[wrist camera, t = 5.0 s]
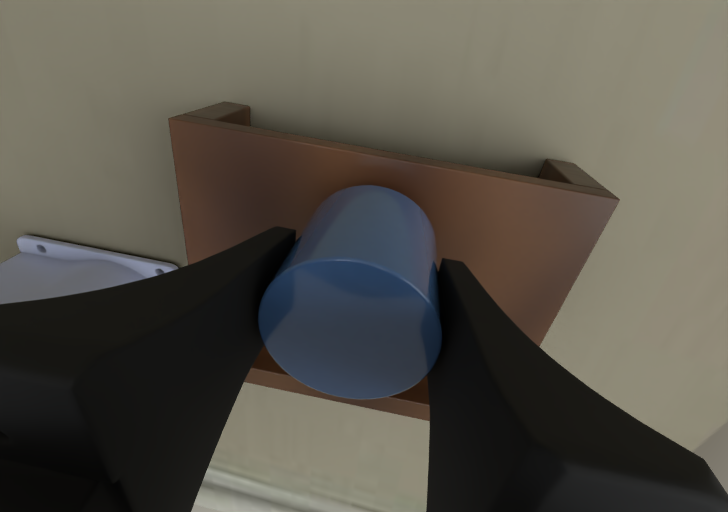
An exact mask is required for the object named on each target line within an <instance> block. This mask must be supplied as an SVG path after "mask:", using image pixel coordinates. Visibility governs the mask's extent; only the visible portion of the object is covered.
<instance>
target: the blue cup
mask: <svg viewBox="0 0 728 512" xmlns="http://www.w3.org/2000/svg"><path fill="white" fill-rule="evenodd" d="M258 325H259V331H260V335H261V338H262V340H263V343H264V345H265V347H266V349H267V350H268V352H269V354H270V355H271V356H272V358H273V359H274V360H275V362H276V363H277V364H278V365H279V366H280V367H281V368H282V369H283V370H284V371H286V372H287V373H288V374H289V375H290V376H292V377H293V378H295V379H296V380H298V381H299V382H301V383H303V384H305V385H306V386H308V387H310V388H313V389H315V390H317V391H320V392H323V393H326V394H329V395H333V396H337V397H342V398H348V399H377V398H383V397H388V396H392V395H395V394H398V393H401V392H403V391H405V390H408V389H410V388H411V387H413V386H415V385H416V384H418V383H419V382H420V381H421V380H423V379H424V378H425V377H426V376H427V375H428V373H429V372H430V371H431V370H432V368H433V367H434V365H435V364H436V362H437V359H438V357H439V355H440V351H441V347H442V338H443V335H442V321H441V307H440V293H439V279H438V266H437V252H436V240H435V234H434V230H433V228H432V225H431V223H430V221H429V219H428V218H427V216H426V214H425V213H424V212H423V211H422V209H421V208H420V207H419V206H418V205H417V204H416V203H415V202H413V201H412V200H411V199H409V198H408V197H407V196H405V195H403V194H401V193H399V192H397V191H394V190H392V189H389V188H385V187H381V186H373V185H361V186H353V187H350V188H346V189H343V190H341V191H338V192H336V193H334V194H333V195H331V196H329V197H328V198H327V199H326V200H324V201H323V202H322V203H321V204H320V205H319V206H318V208H317V209H316V211H315V212H314V214H313V215H312V217H311V218H310V220H309V221H308V223H307V225H306V226H305V228H304V229H303V231H302V233H301V234H300V236H299V237H298V239H297V240H296V242H295V244H294V245H293V247H292V248H291V250H290V252H289V253H288V255H287V256H286V258H285V259H284V261H283V263H282V264H281V266H280V267H279V269H278V271H277V272H276V274H275V275H274V277H273V279H272V280H271V282H270V283H269V285H268V286H267V288H266V290H265V291H264V293H263V296H262V298H261V301H260V305H259V309H258Z"/></svg>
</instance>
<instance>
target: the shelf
mask: <svg viewBox="0 0 728 512" xmlns="http://www.w3.org/2000/svg"><path fill="white" fill-rule="evenodd" d="M168 120H169V127H170V135H171V142H172V149H173V157H174V164H175V171H176V178H177V186H178V193H179V200H180V207H181V215H182V222H183V229H184V237H185V244H186V251H187V258H188V265H190V264H193V263H196V262H198V261H201V260H203V259H205V258H208V257H210V256H212V255H215V254H217V253H219V252H222V251H224V250H227V249H229V248H231V247H233V246H235V245H237V244H239V243H241V242H243V241H245V240H248V239H250V238H252V237H254V236H256V235H258V234H260V233H262V232H264V231H266V230H268V229H270V228H273V227H276V226H279V227H284V228H289V229H294V230H296V240H297V239H298V237H299V236H300V234H301V233H302V231H303V229H304V228H305V226H306V225H307V223H308V221H309V220H310V218H311V217H312V215H313V214H314V212H315V211H316V209H317V208H318V206H319V205H320V204H321V203H322V202H323V201H324V200H326V199H327V198H328V197H329V196H331V195H333V194H334V193H336V192H338V191H341V190H343V189H346V188H350V187H353V186H361V185H373V186H381V187H385V188H389V189H392V190H394V191H397V192H399V193H401V194H403V195H405V196H407V197H408V198H409V199H411V200H412V201H413V202H415V203H416V204H417V205H418V206H419V207H420V208H421V209H422V211H423V212H424V213H425V214H426V216H427V218H428V219H429V221H430V223H431V225H432V228H433V230H434V234H435V240H436V252H437V266H438V271H439V267H440V264H441V261H442V258H446V259H451V260H457V261H462V262H464V263H465V265H466V266H467V267H468V268H469V270H470V271H471V272H472V273H473V275H474V276H475V277H476V279H477V280H478V281H479V282H480V284H481V285H482V286H483V288H484V289H485V290H486V291H487V293H488V294H489V295H490V296H491V297H492V299H493V300H494V301H495V302H496V303H497V305H498V306H499V307H500V308H501V309H502V310H503V311H504V313H505V314H506V315H507V316H508V317H509V318H510V319H511V320H512V321H513V322H514V323H515V324H516V325H517V326H518V327H519V328H520V329H521V330H522V331H523V332H524V333H525V334H526V335H527V336H528V337H529V338H530V339H531V340H532V341H533V342H534V343H535V344H536V345H538V346H540V344H541V343H542V341H543V339H544V337H545V335H546V333H547V332H548V330H549V328H550V326H551V324H552V323H553V321H554V319H555V317H556V315H557V313H558V312H559V310H560V308H561V306H562V304H563V303H564V301H565V299H566V297H567V295H568V293H569V292H570V290H571V288H572V286H573V284H574V283H575V281H576V279H577V277H578V275H579V273H580V272H581V270H582V268H583V266H584V264H585V262H586V261H587V259H588V257H589V255H590V253H591V252H592V250H593V248H594V246H595V244H596V242H597V241H598V239H599V237H600V235H601V233H602V232H603V230H604V228H605V226H606V224H607V222H608V221H609V219H610V217H611V215H612V213H613V212H614V210H615V208H616V206H617V204H618V202H619V198H617V197H616V196H615V195H614V194H612V193H611V192H610V191H608V190H607V189H606V188H605V187H603V186H602V185H601V184H599V183H598V182H597V181H596V180H594V179H593V178H592V177H591V176H589V175H588V174H587V173H586V172H584V171H583V170H582V169H581V168H579V167H578V166H577V165H575V164H574V163H568V162H563V161H557V160H551V159H546V161H545V163H544V166H543V168H542V170H541V173H540V175H539V178H534V177H528V176H523V175H517V174H512V173H506V172H500V171H495V170H489V169H484V168H478V167H473V166H467V165H461V164H456V163H450V162H445V161H439V160H433V159H428V158H422V157H417V156H411V155H405V154H400V153H394V152H389V151H383V150H378V149H372V148H366V147H361V146H355V145H350V144H344V143H338V142H333V141H327V140H322V139H316V138H311V137H305V136H299V135H294V134H288V133H283V132H277V131H271V130H266V129H260V128H255V127H250V107H249V106H245V105H239V104H234V103H228V102H222V103H218V104H215V105H212V106H208V107H205V108H202V109H198V110H195V111H192V112H189V113H185V114H183V115H182V114H181V115H178V116H175V117H171V118H169V119H168ZM244 382H247V383H252V384H256V385H261V386H266V387H271V388H275V389H280V390H285V391H290V392H294V393H299V394H304V395H308V396H313V397H318V398H323V399H327V400H332V401H337V402H342V403H346V404H351V405H356V406H361V407H365V408H370V409H375V410H379V411H384V412H389V413H394V414H398V415H403V416H408V417H413V418H417V419H422V420H427V421H430V407H429V394H428V380H427V376H426V377H425V378H424V379H423V380H421V381H420V382H419V383H418V384H416V385H415V386H413V387H411V388H410V389H408V390H405V391H403V392H401V393H398V394H395V395H392V396H388V397H383V398H377V399H348V398H342V397H337V396H333V395H329V394H326V393H323V392H320V391H317V390H315V389H313V388H310V387H308V386H306V385H305V384H303V383H301V382H299V381H298V380H296V379H295V378H293V377H292V376H290V375H289V374H288V373H287V372H286V371H284V370H283V369H282V368H281V367H280V366H279V365H278V364H277V363H276V362H275V360H274V359H273V358H272V356H271V355H270V354H269V352H268V350H267V349H266V347H265V345H264V346H263V348H262V350H261V351H260V353H259V355H258V357H257V358H256V360H255V362H254V364H253V365H252V367H251V369H250V371H249V373H248V375H247V377H246V379H245V381H244Z"/></svg>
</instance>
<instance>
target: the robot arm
mask: <svg viewBox="0 0 728 512" xmlns="http://www.w3.org/2000/svg"><path fill="white" fill-rule="evenodd" d="M295 242H296V230H294V229H289V228H284V227H279V226H276V227H273V228H270V229H268V230H266V231H264V232H262V233H260V234H258V235H256V236H254V237H252V238H250V239H248V240H245V241H243V242H241V243H239V244H237V245H235V246H233V247H231V248H229V249H227V250H224V251H222V252H219V253H217V254H215V255H212V256H210V257H208V258H205V259H203V260H201V261H198V262H196V263H193V264H190V265H188V266H185V267H182V268H178V267H177V266H176V265H174V264H171V263H167V262H162V261H157V260H152V259H146V258H141V257H136V256H131V255H126V254H121V253H116V252H111V251H106V250H101V249H96V248H91V247H86V246H81V245H76V244H71V243H66V242H61V241H56V240H51V239H46V238H41V237H35V236H30V235H23V236H21V237H19V238H18V239H17V244H18V247H19V249H20V251H21V253H19V254H17V255H15V256H14V257H12V258H10V259H8V260H6V261H4V262H2V263H0V512H191V510H192V507H193V505H194V502H195V499H196V497H197V494H198V491H199V489H200V486H201V484H202V481H203V478H204V476H205V473H206V471H207V468H208V466H209V463H210V461H211V458H212V456H213V453H214V450H215V448H216V446H217V443H218V441H219V438H220V436H221V434H222V431H223V429H224V426H225V424H226V422H227V419H228V417H229V414H230V412H231V410H232V407H233V405H234V403H235V401H236V398H237V396H238V394H239V391H240V389H241V387H242V385H243V382H244V381H245V379H246V377H247V375H248V373H249V371H250V369H251V367H252V365H253V364H254V362H255V360H256V358H257V357H258V355H259V353H260V351H261V350H262V348H263V346H264V343H263V340H262V338H261V335H260V331H259V325H258V309H259V305H260V301H261V298H262V296H263V293H264V291H265V290H266V288H267V286H268V285H269V283H270V282H271V280H272V279H273V277H274V275H275V274H276V272H277V271H278V269H279V267H280V266H281V264H282V263H283V261H284V259H285V258H286V256H287V255H288V253H289V252H290V250H291V248H292V247H293V245H294V244H295ZM161 269H162V270H163V271H164V272H163V271H161ZM438 279H439V293H440V307H441V321H442V335H443V338H442V347H441V351H440V355H439V357H438V359H437V362H436V364H435V365H434V367H433V368H432V370H431V371H430V372H429V373H428V375H427V380H428V394H429V407H430V440H429V469H428V492H427V511H426V512H728V494H727V493H726V491H725V490H724V488H723V487H722V485H721V484H720V482H719V481H718V479H717V478H716V477H715V475H714V473H713V472H712V470H711V469H710V467H709V466H708V464H707V463H706V462H705V460H704V459H703V458H701V457H699V456H697V455H696V454H694V453H692V452H691V451H689V450H687V449H686V448H684V447H682V446H680V445H679V444H677V443H675V442H674V441H672V440H670V439H669V438H667V437H665V436H664V435H662V434H660V433H658V432H657V431H655V430H653V429H652V428H650V427H648V426H647V425H645V424H643V423H642V422H640V421H638V420H637V419H635V418H634V417H632V416H631V415H629V414H628V413H626V412H625V411H623V410H622V409H620V408H619V407H617V406H616V405H614V404H613V403H611V402H610V401H608V400H607V399H605V398H604V397H602V396H601V395H599V394H598V393H597V392H595V391H594V390H592V389H591V388H590V387H588V386H587V385H585V384H584V383H583V382H581V381H580V380H579V379H578V378H576V377H575V376H574V375H572V374H571V373H570V372H568V371H567V370H566V369H565V368H563V367H562V366H561V365H560V364H558V363H557V362H556V361H555V360H553V359H552V358H551V357H550V356H549V355H548V354H546V353H545V352H544V351H543V350H542V349H541V348H540V347H539V346H538V345H536V344H535V343H534V342H533V341H532V340H531V339H530V338H529V337H528V336H527V335H526V334H525V333H524V332H523V331H522V330H521V329H520V328H519V327H518V326H517V325H516V324H515V323H514V322H513V321H512V320H511V319H510V318H509V317H508V316H507V315H506V314H505V313H504V311H503V310H502V309H501V308H500V307H499V306H498V305H497V303H496V302H495V301H494V300H493V299H492V297H491V296H490V295H489V294H488V293H487V291H486V290H485V289H484V288H483V286H482V285H481V284H480V282H479V281H478V280H477V279H476V277H475V276H474V275H473V273H472V272H471V271H470V270H469V268H468V267H467V266H466V265H465V263H464V262H462V261H457V260H451V259H446V258H442V261H441V264H440V267H439V271H438Z"/></svg>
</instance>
